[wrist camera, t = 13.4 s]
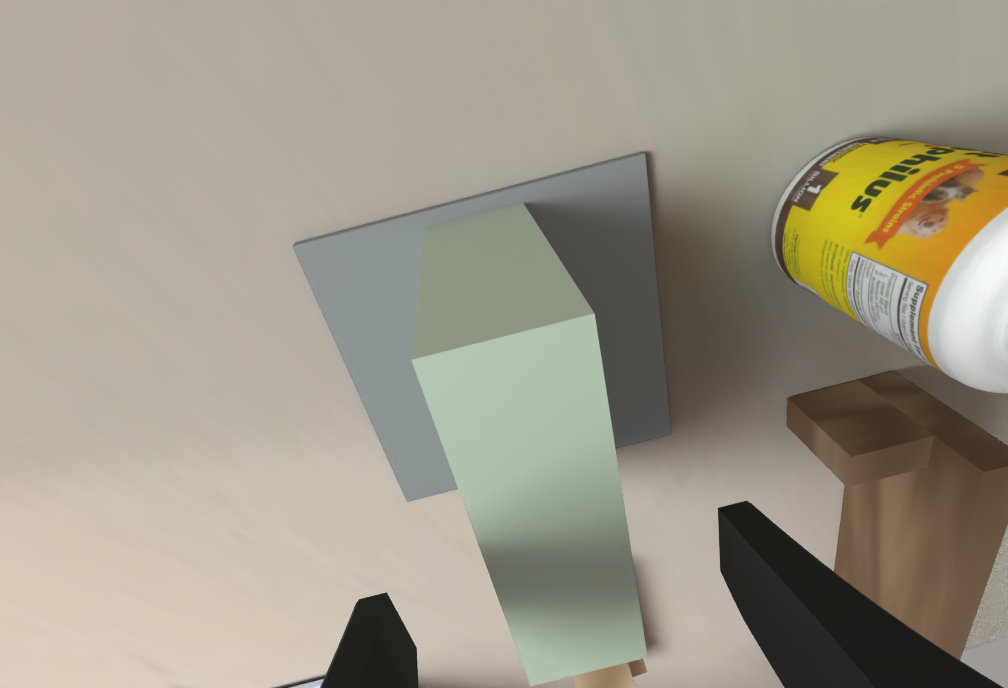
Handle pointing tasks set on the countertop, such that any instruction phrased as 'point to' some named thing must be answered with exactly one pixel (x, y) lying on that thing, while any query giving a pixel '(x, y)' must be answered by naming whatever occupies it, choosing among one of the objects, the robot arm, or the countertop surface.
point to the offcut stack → (611, 676)
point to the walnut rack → (910, 499)
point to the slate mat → (582, 250)
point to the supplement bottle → (907, 248)
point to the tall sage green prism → (529, 438)
